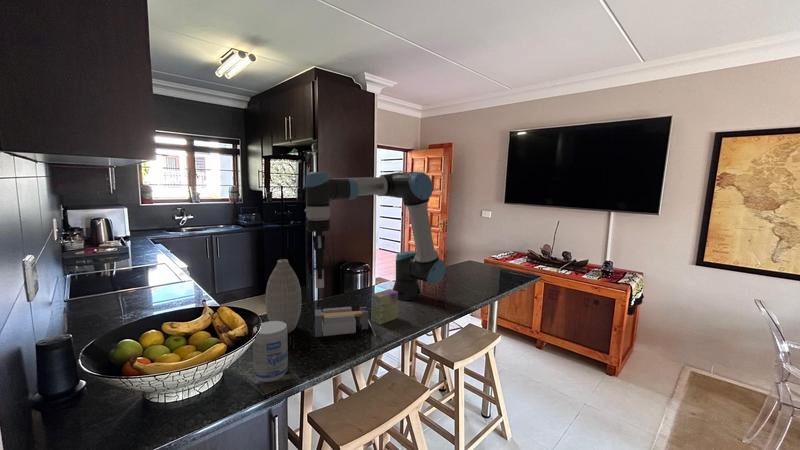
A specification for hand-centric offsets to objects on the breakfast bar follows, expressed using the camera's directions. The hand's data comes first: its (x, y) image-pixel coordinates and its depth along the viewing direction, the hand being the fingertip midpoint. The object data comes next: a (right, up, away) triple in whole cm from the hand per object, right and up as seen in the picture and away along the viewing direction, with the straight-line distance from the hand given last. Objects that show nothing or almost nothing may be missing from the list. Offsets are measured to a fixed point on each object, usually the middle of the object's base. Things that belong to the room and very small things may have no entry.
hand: (319, 287), depth 112 cm
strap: (+5, -14, +14) cm, 21 cm away
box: (+21, -19, +27) cm, 39 cm away
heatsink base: (+5, -20, +15) cm, 25 cm away
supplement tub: (-11, -23, -15) cm, 30 cm away
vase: (-17, -20, +13) cm, 29 cm away
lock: (-3, -19, +10) cm, 22 cm away
